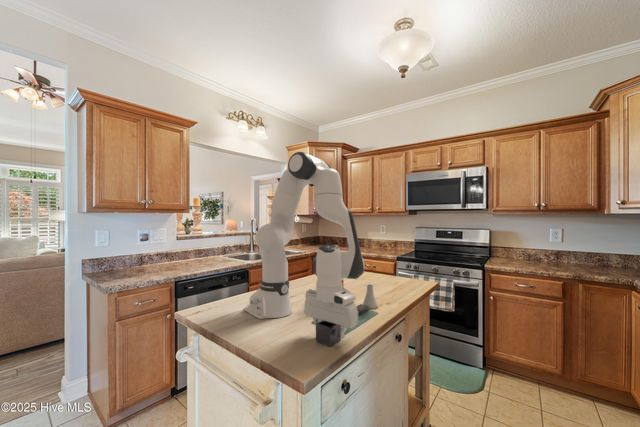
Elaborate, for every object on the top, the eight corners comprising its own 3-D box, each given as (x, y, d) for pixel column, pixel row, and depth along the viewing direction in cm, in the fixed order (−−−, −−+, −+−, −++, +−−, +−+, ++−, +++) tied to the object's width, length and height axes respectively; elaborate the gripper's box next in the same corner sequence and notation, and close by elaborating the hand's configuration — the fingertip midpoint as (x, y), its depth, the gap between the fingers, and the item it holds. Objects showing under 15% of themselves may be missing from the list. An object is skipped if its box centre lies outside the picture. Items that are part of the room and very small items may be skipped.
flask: (378, 309, 122) (378, 287, 122) (361, 308, 123) (361, 286, 123) (377, 304, 129) (377, 283, 129) (362, 303, 130) (362, 282, 130)
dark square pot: (315, 341, 92) (315, 323, 92) (326, 335, 96) (326, 318, 96) (330, 347, 88) (330, 328, 88) (340, 340, 93) (340, 322, 93)
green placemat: (311, 323, 107) (311, 305, 107) (346, 306, 127) (346, 290, 127) (345, 334, 97) (345, 314, 97) (377, 313, 117) (377, 297, 117)
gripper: (300, 290, 96) (300, 329, 96) (349, 301, 84) (350, 346, 84) (311, 286, 101) (312, 323, 101) (359, 296, 89) (360, 338, 89)
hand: (329, 333), depth 93 cm, fingers open, 8 cm apart
